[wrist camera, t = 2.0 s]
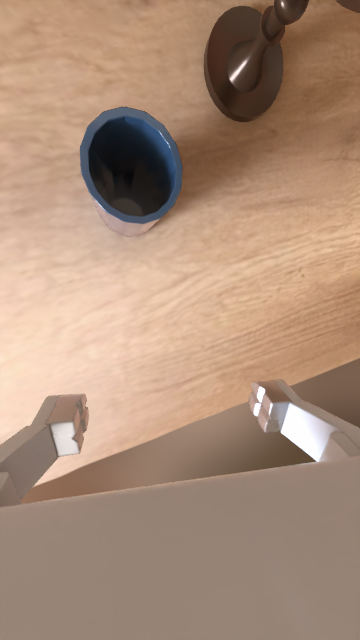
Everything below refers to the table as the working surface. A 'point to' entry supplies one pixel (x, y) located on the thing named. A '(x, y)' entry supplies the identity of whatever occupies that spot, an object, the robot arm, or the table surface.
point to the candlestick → (250, 56)
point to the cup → (130, 169)
